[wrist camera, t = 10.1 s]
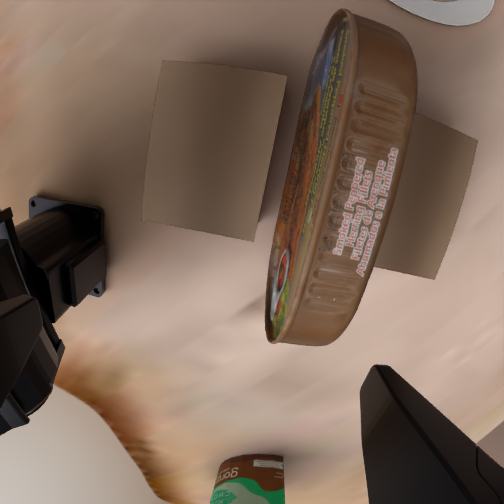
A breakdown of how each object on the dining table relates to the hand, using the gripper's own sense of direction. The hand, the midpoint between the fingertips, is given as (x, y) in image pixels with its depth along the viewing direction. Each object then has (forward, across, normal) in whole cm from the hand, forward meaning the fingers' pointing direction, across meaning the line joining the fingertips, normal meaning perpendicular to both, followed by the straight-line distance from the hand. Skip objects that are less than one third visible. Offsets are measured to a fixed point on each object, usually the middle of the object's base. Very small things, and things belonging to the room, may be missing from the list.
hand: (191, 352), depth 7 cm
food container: (+12, -4, +27) cm, 30 cm away
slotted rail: (+12, -3, -4) cm, 13 cm away
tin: (+12, -4, -3) cm, 13 cm away
